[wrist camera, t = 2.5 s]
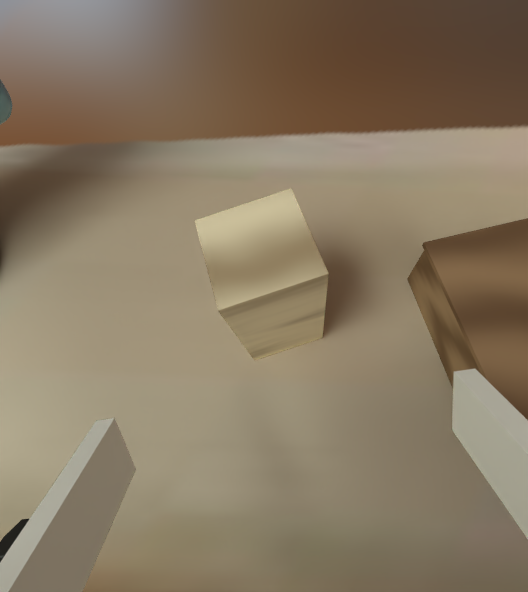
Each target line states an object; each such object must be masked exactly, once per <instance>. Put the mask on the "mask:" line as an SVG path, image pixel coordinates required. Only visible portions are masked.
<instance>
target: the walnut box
mask: <svg viewBox="0 0 528 592" xmlns="http://www.w3.org/2000/svg"><path fill="white" fill-rule="evenodd" d="M422 246H423V248H424V252H423V253H422V255H421V257H420V258H419V260H418V262H417V264H416V265H415V267H414V269H413V270H412V272H411V274H410V275H409V277H408V282H409V284H410V286H411V289H412V291H413V294H414V296H415V299H416V301H417V303H418V306H419V308H420V311H421V313H422V315H423V318H424V320H425V323H426V325H427V327H428V330H429V332H430V335H431V337H432V340H433V342H434V344H435V347H436V349H437V352H438V354H439V356H440V359H441V361H442V364H443V366H444V368H445V371H446V373H447V376H448V378H449V380H450V383H451V385H452V388H453V379H454V371H461V370H468V369H476V370H477V371H478V372H479V373H480V374H481V375H482V376H483V377H484V378H485V379H486V380H487V381H488V382H489V383H490V384H491V385H492V386H493V387H494V388H495V389H496V390H497V391H498V392H499V393H500V394H501V395H503V396H504V397H505V398H506V399H507V400H508V401H509V402H510V403H511V404H512V405H513V406H514V407H515V408H516V409H517V410H518V411H519V412H520V413H521V414H522V415H523V416H524V417H525V418H526V419H527V420H528V218H527V219H523V220H519V221H514V222H510V223H506V224H501V225H497V226H493V227H489V228H484V229H480V230H476V231H471V232H467V233H463V234H458V235H454V236H450V237H446V238H441V239H437V240H433V241H428V242H424V243H423V245H422Z"/></svg>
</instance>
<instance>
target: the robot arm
mask: <svg viewBox="0 0 528 592" xmlns="http://www.w3.org/2000/svg"><path fill="white" fill-rule="evenodd" d="M11 110H12V101H11V98H10V95H9V93H8V91H7V90H6V88H5V86H4V85H3V83H2V81H1V80H0V124H2V123H3V122H5V121H6V120H7V119H8V118H9V117H10V115H11ZM452 431H453V432H454V433H455V435H456V436H457V438H458V439H459V441H460V442H461V444H462V445H463V446H464V448H465V449H466V451H467V452H468V454H469V455H470V457H471V458H472V459H473V461H474V462H475V464H476V465H477V467H478V468H479V470H480V471H481V472H482V474H483V475H484V477H485V478H486V480H487V481H488V483H489V484H490V486H491V487H492V488H493V490H494V491H495V493H496V494H497V496H498V497H499V499H500V500H501V501H502V503H503V504H504V506H505V507H506V509H507V510H508V512H509V513H510V514H511V516H512V517H513V519H514V520H515V522H516V523H517V525H518V526H519V527H520V529H521V530H522V532H523V533H524V535H525V536H526V538H527V539H528V420H527V419H526V418H525V417H524V416H523V415H522V414H521V413H520V412H519V411H518V410H517V409H516V408H515V407H514V406H513V405H512V404H511V403H510V402H509V401H508V400H507V399H506V398H505V397H504V396H503V395H501V394H500V393H499V392H498V391H497V390H496V389H495V388H494V387H493V386H492V385H491V384H490V383H489V382H488V381H487V380H486V379H485V378H484V377H483V376H482V375H481V374H480V373H479V372H478V371H477V370H476V369H468V370H461V371H454V379H453V413H452ZM135 470H136V468H135V466H134V463H133V461H132V458H131V456H130V454H129V451H128V449H127V447H126V444H125V442H124V439H123V437H122V435H121V432H120V430H119V428H118V425H117V423H116V420H115V418H111V419H104V420H97V421H96V422H95V423H94V425H93V426H92V428H91V429H90V431H89V432H88V434H87V435H86V436H85V438H84V439H83V441H82V442H81V444H80V445H79V447H78V448H77V450H76V451H75V453H74V454H73V456H72V457H71V459H70V460H69V462H68V463H67V465H66V466H65V468H64V469H63V470H62V472H61V473H60V475H59V476H58V478H57V479H56V481H55V482H54V484H53V485H52V487H51V488H50V490H49V491H48V493H47V494H46V496H45V497H44V499H43V500H42V501H41V503H40V504H39V506H38V507H37V509H36V510H35V512H34V513H33V515H32V516H31V518H30V519H22V520H21V521H20V522H19V523H18V524H17V525H16V526H15V527H14V528H13V529H12V530H11V531H10V532H8V533H7V534H6V535H5V536H4V537H3V539H2V540H1V542H0V592H82V591H83V589H84V587H85V584H86V582H87V580H88V578H89V575H90V573H91V571H92V568H93V566H94V564H95V562H96V559H97V557H98V555H99V552H100V550H101V548H102V546H103V543H104V541H105V539H106V536H107V534H108V532H109V530H110V527H111V525H112V523H113V520H114V518H115V516H116V514H117V511H118V509H119V507H120V505H121V502H122V500H123V498H124V495H125V493H126V491H127V489H128V486H129V484H130V482H131V479H132V477H133V475H134V473H135Z"/></svg>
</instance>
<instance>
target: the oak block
mask: <svg viewBox="0 0 528 592" xmlns="http://www.w3.org/2000/svg"><path fill="white" fill-rule="evenodd" d="M195 224H196V228H197V232H198V236H199V240H200V243H201V247H202V251H203V255H204V259H205V263H206V266H207V270H208V274H209V278H210V282H211V285H212V289H213V293H214V297H215V301H216V305H217V308H218V311H219V312H220V314H221V315H222V317H223V318H224V319H225V321H226V322H227V323H228V325H229V326H230V327H231V329H232V330H233V332H234V333H235V334H236V336H237V337H238V338H239V340H240V341H241V343H242V344H243V345H244V347H245V348H246V349H247V351H248V352H249V353H250V355H251V356H252V358H253V359H254V360H258V359H261V358H264V357H267V356H270V355H273V354H276V353H279V352H282V351H285V350H288V349H291V348H294V347H297V346H300V345H303V344H306V343H309V342H312V341H315V340H318V339H321V338H323V327H324V317H325V306H326V296H327V285H328V275H329V273H328V271H327V269H326V266H325V264H324V262H323V260H322V257H321V255H320V253H319V250H318V248H317V246H316V244H315V241H314V239H313V237H312V234H311V232H310V230H309V228H308V225H307V223H306V221H305V218H304V216H303V214H302V212H301V209H300V207H299V205H298V202H297V200H296V198H295V196H294V193H293V191H292V189H291V188H290V189H287V190H284V191H281V192H278V193H275V194H272V195H269V196H266V197H263V198H260V199H257V200H254V201H251V202H248V203H245V204H242V205H239V206H236V207H233V208H230V209H227V210H224V211H221V212H218V213H215V214H212V215H209V216H206V217H203V218H200V219H197V220H195Z"/></svg>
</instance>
